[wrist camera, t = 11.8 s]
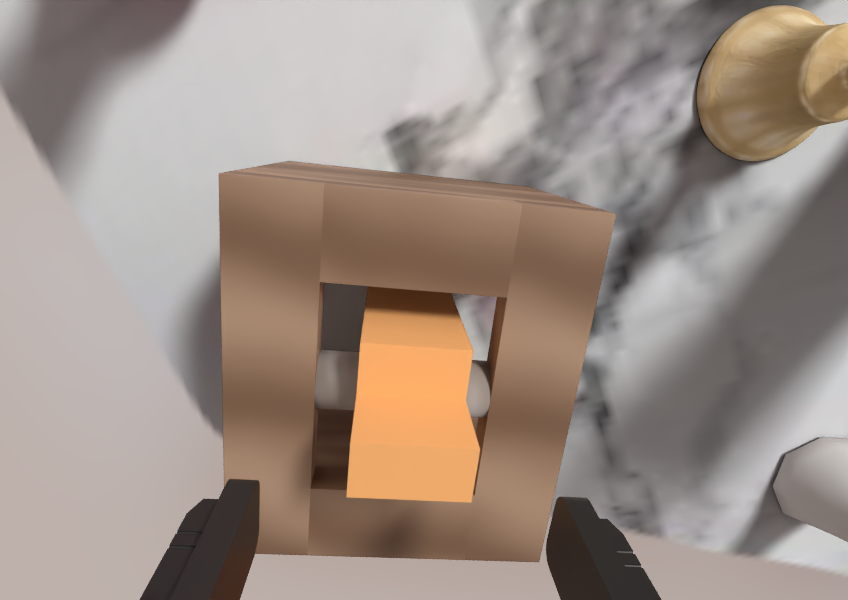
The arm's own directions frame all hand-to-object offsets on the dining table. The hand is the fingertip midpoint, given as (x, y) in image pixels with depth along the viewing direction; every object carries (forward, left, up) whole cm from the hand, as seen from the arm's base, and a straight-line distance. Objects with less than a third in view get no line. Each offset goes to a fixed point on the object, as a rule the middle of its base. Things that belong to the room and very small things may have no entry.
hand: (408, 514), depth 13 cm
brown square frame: (0, 0, -19) cm, 19 cm away
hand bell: (-15, +20, -19) cm, 31 cm away
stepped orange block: (0, 0, -16) cm, 16 cm away
